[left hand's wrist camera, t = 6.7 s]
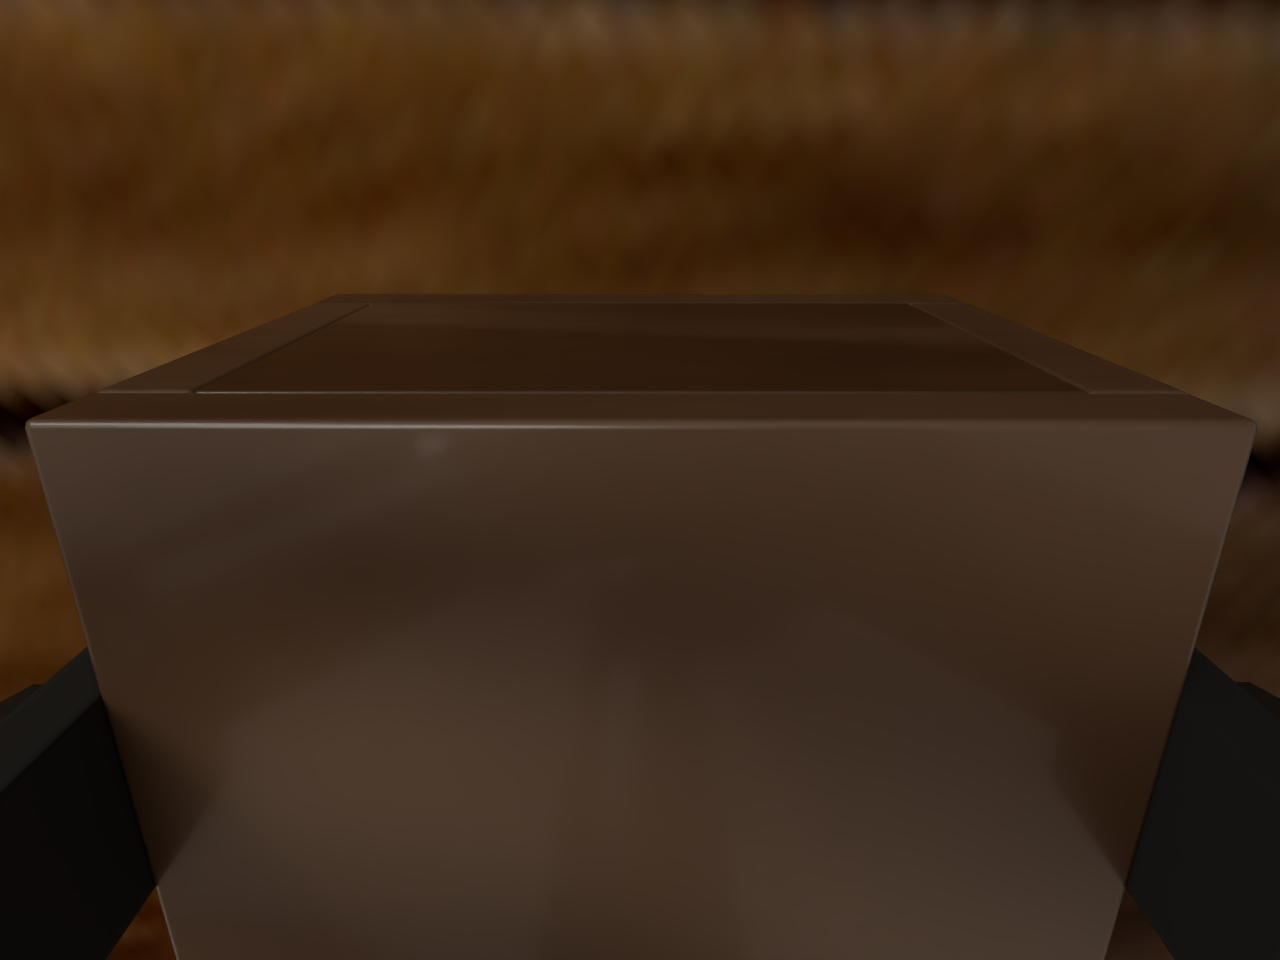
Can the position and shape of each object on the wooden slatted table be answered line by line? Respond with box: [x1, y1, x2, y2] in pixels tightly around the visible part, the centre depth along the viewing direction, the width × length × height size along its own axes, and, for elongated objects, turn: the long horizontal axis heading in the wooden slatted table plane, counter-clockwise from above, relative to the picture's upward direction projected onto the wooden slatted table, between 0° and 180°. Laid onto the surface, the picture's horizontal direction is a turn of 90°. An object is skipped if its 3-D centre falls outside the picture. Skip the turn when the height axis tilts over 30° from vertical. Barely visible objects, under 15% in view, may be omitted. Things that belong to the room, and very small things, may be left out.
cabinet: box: [25, 294, 1257, 960], centre depth 15 cm, size 20×12×8 cm, turn 0°
